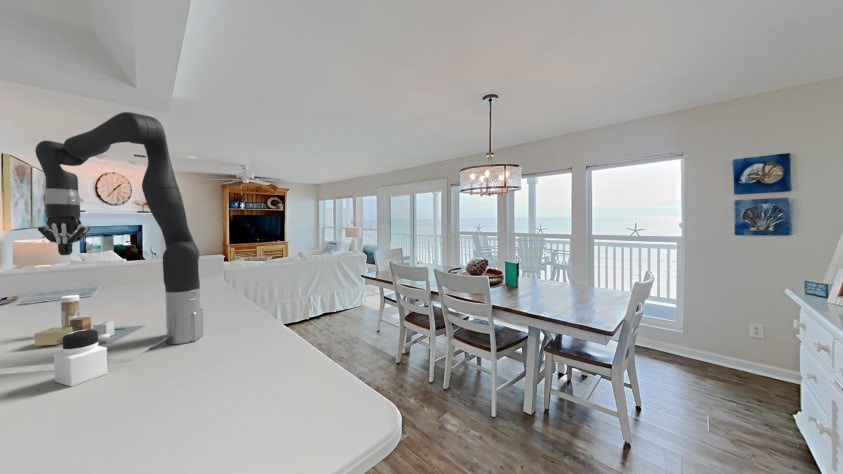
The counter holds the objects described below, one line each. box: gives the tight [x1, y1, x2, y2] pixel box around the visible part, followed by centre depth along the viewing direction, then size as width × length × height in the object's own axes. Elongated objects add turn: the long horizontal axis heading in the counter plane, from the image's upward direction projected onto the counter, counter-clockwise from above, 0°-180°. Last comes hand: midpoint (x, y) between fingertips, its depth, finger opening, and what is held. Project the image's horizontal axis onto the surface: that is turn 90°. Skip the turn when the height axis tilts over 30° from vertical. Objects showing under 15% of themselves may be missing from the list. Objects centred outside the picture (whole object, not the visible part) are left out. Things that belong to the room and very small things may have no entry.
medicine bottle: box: [53, 328, 109, 387], centre depth 78 cm, size 7×7×12 cm
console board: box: [30, 324, 147, 350], centre depth 103 cm, size 20×18×5 cm
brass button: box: [34, 326, 73, 347], centre depth 97 cm, size 6×6×4 cm
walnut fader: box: [70, 316, 92, 332], centre depth 107 cm, size 4×4×5 cm
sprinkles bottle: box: [59, 294, 81, 327], centre depth 110 cm, size 5×5×14 cm
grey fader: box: [92, 320, 115, 336], centre depth 102 cm, size 4×4×5 cm
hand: (65, 254), depth 103 cm, fingers closed
